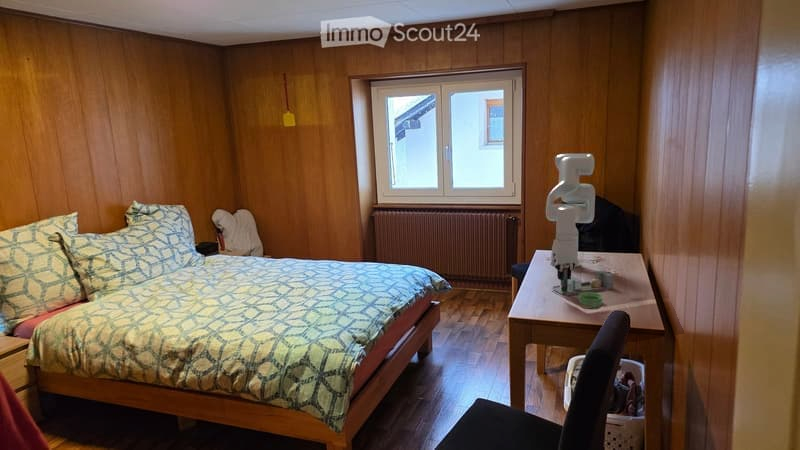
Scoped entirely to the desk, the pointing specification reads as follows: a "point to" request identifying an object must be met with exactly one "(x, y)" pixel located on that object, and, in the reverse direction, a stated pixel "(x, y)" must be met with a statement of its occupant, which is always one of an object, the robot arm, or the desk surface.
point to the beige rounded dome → (596, 283)
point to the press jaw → (568, 282)
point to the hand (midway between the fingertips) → (564, 278)
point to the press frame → (606, 285)
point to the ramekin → (590, 299)
